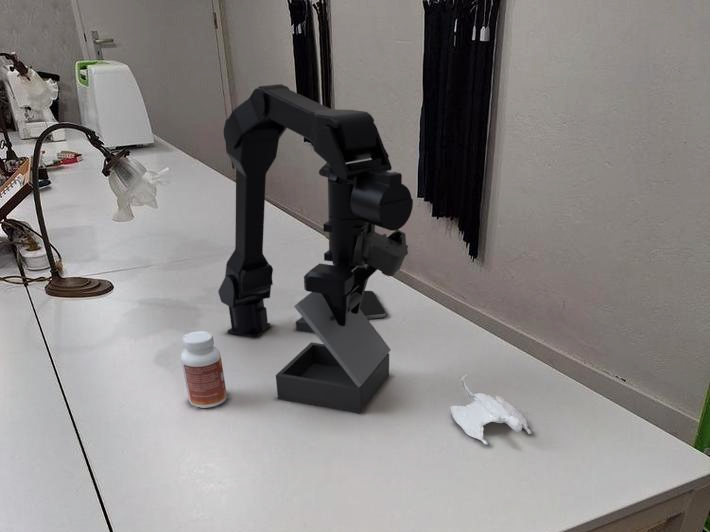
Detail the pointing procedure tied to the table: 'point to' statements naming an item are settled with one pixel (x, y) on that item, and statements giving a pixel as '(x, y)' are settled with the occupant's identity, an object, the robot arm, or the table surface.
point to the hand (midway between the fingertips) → (348, 319)
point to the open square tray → (327, 381)
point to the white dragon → (486, 414)
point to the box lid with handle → (345, 336)
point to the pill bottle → (203, 370)
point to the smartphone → (371, 306)
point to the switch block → (303, 325)
